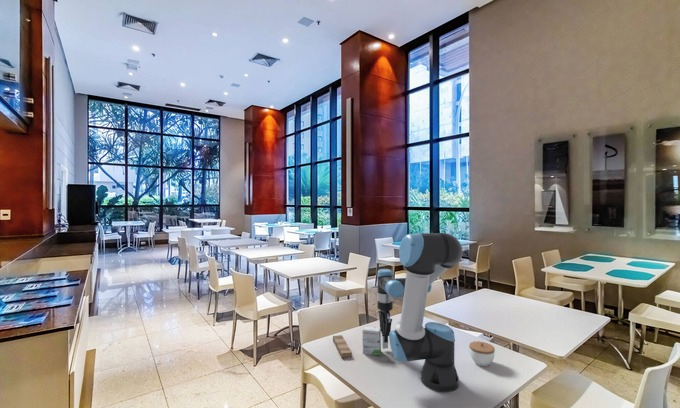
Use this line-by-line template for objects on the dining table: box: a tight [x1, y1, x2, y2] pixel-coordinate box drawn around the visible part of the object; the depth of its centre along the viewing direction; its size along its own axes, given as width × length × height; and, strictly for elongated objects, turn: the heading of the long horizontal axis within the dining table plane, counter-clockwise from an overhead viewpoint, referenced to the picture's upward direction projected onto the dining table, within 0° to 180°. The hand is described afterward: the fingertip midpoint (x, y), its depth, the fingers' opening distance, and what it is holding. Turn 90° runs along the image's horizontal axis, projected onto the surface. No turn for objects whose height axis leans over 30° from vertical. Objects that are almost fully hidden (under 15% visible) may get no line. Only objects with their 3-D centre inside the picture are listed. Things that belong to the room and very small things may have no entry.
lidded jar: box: [468, 340, 496, 367], centre depth 148 cm, size 11×11×9 cm
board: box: [332, 334, 353, 360], centre depth 162 cm, size 20×5×2 cm, turn 13°
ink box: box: [362, 326, 382, 356], centre depth 158 cm, size 9×5×12 cm, turn 75°
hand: (385, 347), depth 160 cm, fingers closed
